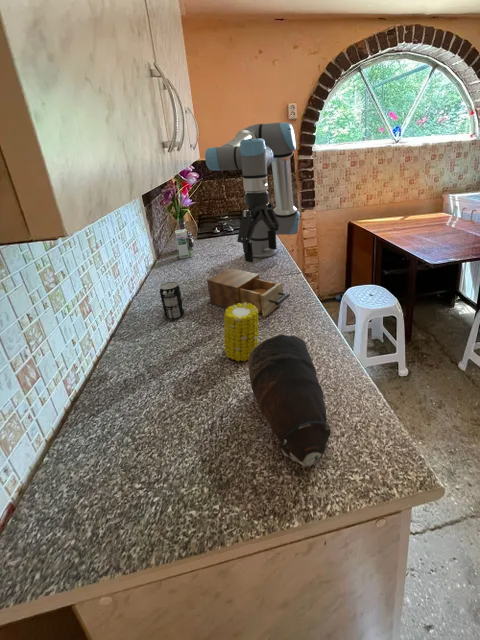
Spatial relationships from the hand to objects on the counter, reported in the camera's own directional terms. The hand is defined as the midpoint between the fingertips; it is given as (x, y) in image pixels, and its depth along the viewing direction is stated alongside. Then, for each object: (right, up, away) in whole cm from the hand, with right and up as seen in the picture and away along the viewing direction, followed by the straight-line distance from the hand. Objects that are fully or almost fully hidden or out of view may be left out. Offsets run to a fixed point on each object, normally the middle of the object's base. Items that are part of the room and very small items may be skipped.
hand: (261, 254), depth 104 cm
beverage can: (-31, -22, +6) cm, 39 cm away
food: (-4, -28, -15) cm, 32 cm away
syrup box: (-47, -1, +64) cm, 79 cm away
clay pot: (+10, -36, -38) cm, 53 cm away
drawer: (0, -18, +8) cm, 20 cm away
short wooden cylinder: (-1, -17, +8) cm, 19 cm away
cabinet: (-11, -17, +15) cm, 25 cm away
